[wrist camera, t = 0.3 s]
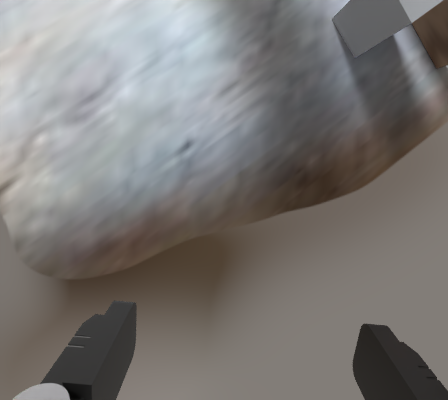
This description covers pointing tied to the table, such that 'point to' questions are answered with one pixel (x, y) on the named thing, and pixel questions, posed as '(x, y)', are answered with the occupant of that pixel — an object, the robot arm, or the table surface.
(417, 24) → the walnut screen
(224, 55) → the table surface
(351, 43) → the plain grey block
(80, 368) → the robot arm
